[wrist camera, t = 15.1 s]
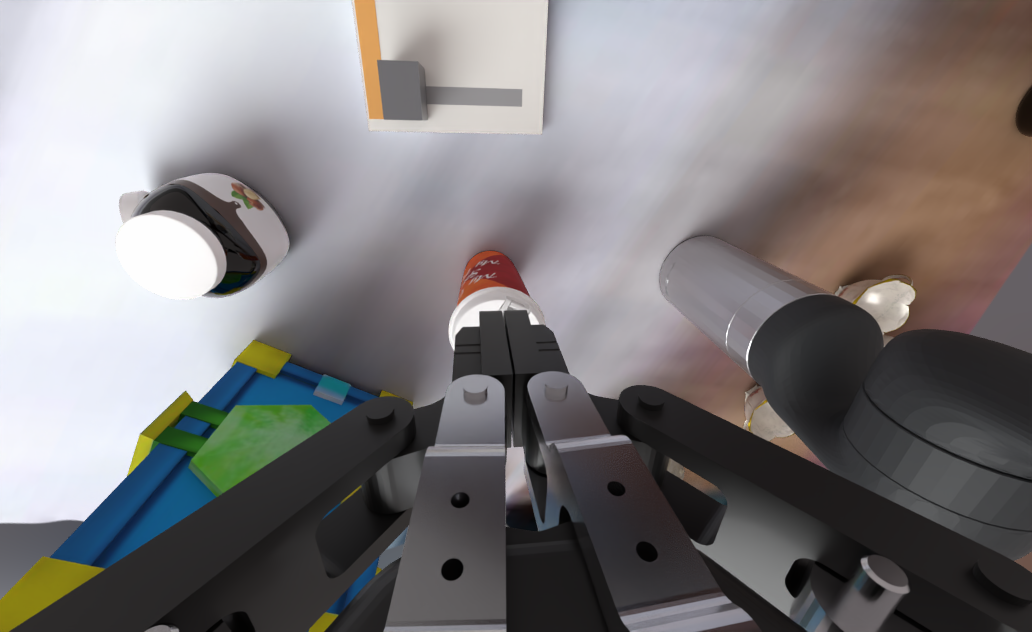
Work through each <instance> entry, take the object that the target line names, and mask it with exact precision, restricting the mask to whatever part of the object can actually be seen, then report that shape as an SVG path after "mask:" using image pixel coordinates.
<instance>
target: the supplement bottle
mask: <svg viewBox="0 0 1032 632" xmlns="http://www.w3.org/2000/svg"><path fill="white" fill-rule="evenodd" d="M1016 125H1017V128H1018V130H1019V131H1020V132H1021V133H1022V134H1023V135H1025V136H1029V137H1032V88H1031V89H1030V90H1029V91H1028V93H1027V94H1026V95H1025V97H1024V98H1023V100H1022V102H1021V104H1020V106H1019V108H1018V111H1017V115H1016Z"/></svg>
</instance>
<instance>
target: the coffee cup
mask: <svg viewBox="0 0 1032 632" xmlns="http://www.w3.org/2000/svg"><path fill="white" fill-rule="evenodd" d="M504 310H527V313H528V316H529V319H530V323H531V325H540V324H544V325H545V320H544V316H543V314H542V311H541V309H540V308H539V306H538V305H537V304H536V302H535V301H534V300H533V299H532V298H530V296H529V294H528V291H527V289H526V287H525V285H524V283H523V281H522V279H521V277H520V275H519V273H518V271H517V269H516V268H515V266H514V264H513V263H512V261H511V260H510V259H509V258H508V257H507V256H505V255H504V254H502V253H500V252H497V251H484V252H481V253H478V254H477V255H475V256H474V257H473V258H472V259H471V260H470V261H469V262H468V264H467V266H466V268H465V271H464V275H463V279H462V283H461V288H460V293H459V298H458V303H457V307H456V309H455V310H454V312H453V314H452V316H451V319H450V323H449V332H448V334H449V340H450V343H451V346H452V348H453V350H454V348H455V335H456V334H457V333H458V332H459V331H460V329H461V328H462V327H476V326H479V311H502V313H503V311H504Z"/></svg>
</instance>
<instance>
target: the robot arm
mask: <svg viewBox="0 0 1032 632" xmlns="http://www.w3.org/2000/svg"><path fill="white" fill-rule="evenodd" d="M659 283H660V289H661V291H662V294H663V295H664V297H665V298H666V299H667V300H668V301H669V302H670V303H671V304H672V305H673V306H674V307H675V308H677V309H678V310H679V311H680V312H681V313H682V314H683V315H684V316H685V317H686V318H687V319H688V320H689V321H691V322H692V323H693V324H694V325H695V326H696V327H697V328H698V329H699V330H700V331H701V332H702V333H704V334H705V335H706V336H707V337H708V338H709V339H710V340H711V341H712V342H713V343H714V344H716V345H717V346H718V347H719V348H720V349H721V350H722V351H723V352H724V353H725V354H726V355H727V356H729V357H730V358H731V359H732V360H733V361H734V362H735V363H736V364H737V365H739V366H740V367H741V368H742V369H743V370H744V371H745V372H746V373H747V374H748V375H749V376H751V377H752V378H753V379H754V380H755V381H756V382H757V383H758V384H759V385H760V386H761V387H762V389H763V392H764V395H765V397H766V399H767V401H768V403H769V405H770V406H771V408H772V409H773V410H774V411H775V412H776V414H777V415H778V416H779V417H780V418H781V419H782V420H783V421H784V422H785V423H786V424H787V425H788V426H789V427H790V429H791V430H792V431H793V432H794V433H795V434H796V435H797V436H798V437H799V438H800V439H801V440H802V441H803V442H804V444H805V445H806V446H807V447H808V448H809V449H810V450H811V451H812V452H813V453H814V454H815V456H816V457H817V458H818V459H819V460H820V461H821V462H822V463H823V464H824V465H825V466H826V467H827V468H828V470H827V469H825V468H823V467H821V466H819V465H816V464H814V463H812V462H810V461H808V460H806V459H804V458H802V457H800V456H798V455H796V454H794V453H792V452H790V451H788V450H786V449H784V448H781V447H779V446H777V445H775V444H773V443H771V442H769V441H767V440H765V439H763V438H761V437H759V436H757V435H755V434H753V433H751V432H749V431H746V430H744V429H742V428H740V427H738V426H736V425H734V424H732V423H730V422H728V421H726V420H724V419H722V418H720V417H718V416H716V415H713V414H711V413H709V412H707V411H705V410H703V409H701V408H699V407H697V406H695V405H693V404H691V403H689V402H687V401H685V400H683V399H681V398H678V397H676V396H674V395H672V394H670V393H668V392H666V391H664V390H662V389H659V388H656V387H652V386H646V385H636V386H631V387H628V388H626V389H624V390H623V391H622V392H621V394H620V397H619V400H615V399H609V398H603V397H598V396H594V395H591V394H589V393H587V391H586V389H585V388H584V386H583V384H582V383H581V382H580V381H579V380H578V379H577V378H576V377H574V376H572V375H570V374H569V372H568V369H567V366H566V364H565V361H564V359H563V356H562V354H561V351H560V349H559V346H558V343H557V341H556V338H555V336H554V333H553V332H552V331H551V330H550V329H549V328H547V327H546V326H545V325H544V324H540V325H531V323H530V319H529V316H528V313H527V310H504V311H503V313H502V311H479V326H476V327H462V328H461V329H460V331H459V332H458V333H457V334H456V335H455V348H454V363H453V377H452V383H451V384H450V385H449V386H448V388H447V390H446V394H445V397H444V398H442V399H441V400H439V401H438V402H436V403H433V404H431V405H428V406H425V407H421V408H417V409H413V407H412V405H411V404H410V403H409V402H408V401H407V400H405V399H403V398H400V397H394V396H384V397H378V398H374V399H371V400H368V401H366V402H364V403H362V404H360V405H359V406H357V407H356V408H354V409H352V410H351V411H349V412H348V413H346V414H345V415H343V416H342V417H340V418H339V419H337V420H335V421H334V422H332V423H331V424H329V425H328V426H326V427H325V428H323V429H321V430H320V431H318V432H317V433H315V434H314V435H312V436H311V437H309V438H308V439H306V440H304V441H303V442H301V443H300V444H298V445H297V446H295V447H294V448H292V449H291V450H289V451H287V452H286V453H284V454H283V455H281V456H280V457H278V458H277V459H275V460H273V461H272V462H270V463H269V464H267V465H266V466H264V467H263V468H261V469H260V470H258V471H256V472H255V473H253V474H252V475H250V476H249V477H247V478H246V479H244V480H243V481H241V482H239V483H238V484H236V485H235V486H233V487H232V488H230V489H229V490H227V491H226V492H224V493H222V494H221V495H219V496H218V497H216V498H215V499H213V500H212V501H210V502H208V503H207V504H205V505H204V506H202V507H201V508H199V509H198V510H196V511H195V512H193V513H191V514H190V515H188V516H187V517H185V518H184V519H182V520H181V521H179V522H178V523H176V524H174V525H173V526H171V527H170V528H168V529H167V530H165V531H164V532H162V533H160V534H159V535H157V536H156V537H154V538H153V539H151V540H150V541H148V542H147V543H145V544H143V545H142V546H140V547H139V548H137V549H136V550H134V551H133V552H131V553H130V554H128V555H126V556H125V557H123V558H122V559H120V560H119V561H117V562H116V563H114V564H113V565H111V566H109V567H108V568H106V569H105V570H103V571H102V572H100V573H99V574H97V575H95V576H94V577H92V578H91V579H89V580H88V581H86V582H85V583H83V584H82V585H80V586H78V587H77V588H75V589H74V590H72V591H71V592H69V593H68V594H66V595H65V596H63V597H61V598H60V599H58V600H57V601H55V602H54V603H52V604H51V605H49V606H48V607H46V608H44V609H43V610H41V611H40V612H38V613H37V614H35V615H34V616H32V617H30V618H29V619H27V620H26V621H24V622H23V623H21V624H20V625H18V626H17V627H15V628H13V629H12V630H10V631H9V632H307V631H308V630H309V629H310V628H311V627H312V626H313V625H314V624H315V623H316V621H317V620H318V619H319V618H320V617H321V616H322V615H323V614H324V613H325V612H326V611H327V610H328V609H329V608H330V607H331V606H332V605H333V604H334V603H335V602H336V601H337V600H338V599H339V597H340V596H341V595H342V594H343V593H344V592H345V591H346V590H347V589H348V588H349V587H350V586H351V585H352V584H353V583H354V582H355V581H356V580H357V579H358V578H359V577H360V576H361V575H362V573H363V572H364V571H365V570H366V569H367V568H368V567H369V566H370V565H371V564H372V563H373V562H374V561H375V560H376V559H377V558H378V557H379V556H380V555H381V554H382V553H383V552H384V551H385V549H386V548H387V547H388V546H389V545H390V544H391V543H392V542H393V541H394V540H395V539H396V538H397V537H398V536H399V535H400V534H401V533H402V532H403V531H404V530H405V529H406V528H407V527H408V525H409V527H408V531H407V535H406V539H405V544H404V548H403V552H402V557H401V558H399V559H397V560H396V561H394V562H392V563H391V564H390V565H388V566H387V567H385V568H384V569H383V570H382V571H380V572H379V573H378V574H377V575H376V576H375V577H373V578H372V579H371V580H370V581H369V582H368V583H367V584H366V585H365V586H364V587H363V588H362V589H361V590H360V591H359V593H358V594H357V595H356V596H355V597H354V598H353V599H352V601H351V602H350V603H349V604H348V605H347V606H346V607H345V608H344V610H343V611H342V612H341V613H340V614H339V615H338V616H337V618H336V619H335V620H334V621H333V622H332V623H331V624H330V625H329V627H328V628H327V629H326V630H325V631H324V632H1032V573H1031V572H1030V571H1028V570H1027V569H1025V568H1024V567H1022V566H1021V565H1019V564H1017V563H1016V562H1014V560H1017V559H1019V558H1022V557H1023V556H1025V555H1027V554H1028V553H1030V552H1031V551H1032V354H1031V353H1028V352H1025V351H1022V350H1019V349H1017V348H1014V347H1011V346H1008V345H1005V344H1001V343H998V342H995V341H991V340H988V339H984V338H980V337H976V336H973V335H969V334H964V333H959V332H953V331H945V330H936V329H921V330H912V331H908V332H904V333H902V334H900V335H898V336H896V337H895V338H893V339H891V340H890V341H889V342H888V343H887V344H886V346H885V347H884V340H883V335H882V331H881V328H880V326H879V324H878V323H877V321H876V320H875V319H874V317H873V316H872V315H871V314H869V313H868V312H867V311H866V310H864V309H862V308H861V307H859V306H857V305H855V304H853V303H851V302H849V301H847V300H845V299H843V298H841V297H839V296H836V295H834V294H832V293H830V292H828V291H826V290H824V289H822V288H820V287H818V286H816V285H814V284H811V283H809V282H807V281H805V280H803V279H801V278H799V277H797V276H795V275H793V274H791V273H788V272H786V271H784V270H782V269H780V268H778V267H776V266H774V265H772V264H770V263H768V262H766V261H764V260H762V259H760V258H757V257H755V256H753V255H751V254H749V253H747V252H745V251H743V250H741V249H739V248H737V247H735V246H733V245H731V244H729V243H727V242H725V241H722V240H720V239H718V238H716V237H712V236H698V237H693V238H691V239H689V240H686V241H684V242H683V243H681V244H680V245H678V246H677V247H676V248H675V249H674V250H673V251H672V252H671V253H670V254H669V255H668V257H667V258H666V260H665V262H664V263H663V265H662V268H661V272H660V278H659ZM511 431H512V438H513V446H514V447H523V448H524V454H525V456H524V474H525V478H526V482H527V486H528V490H529V494H530V498H531V502H532V506H533V510H534V514H535V518H536V522H537V526H538V530H539V531H528V530H521V529H515V528H509V527H506V493H505V465H506V455H507V448H510V447H511ZM669 459H672V460H674V461H675V462H677V463H679V464H680V465H682V466H684V467H685V468H687V469H689V470H691V471H692V472H694V473H696V474H697V475H699V476H701V477H702V478H704V479H706V480H707V481H709V482H711V483H712V484H714V485H715V486H717V487H718V488H719V489H720V490H721V491H722V493H723V494H724V495H725V497H726V500H727V506H726V505H723V504H721V503H719V502H717V501H716V500H714V499H712V498H711V497H709V496H708V495H706V494H704V493H703V492H701V491H699V490H698V489H696V488H695V487H693V486H691V485H690V484H688V483H687V482H685V481H683V480H682V479H680V478H678V477H677V476H675V475H674V474H672V473H670V472H669V471H667V467H668V463H669ZM359 486H361V488H359V489H358V490H357V491H356V492H355V493H353V494H352V495H351V496H350V497H349V498H347V499H346V500H345V501H344V502H343V503H342V504H340V505H339V506H338V507H337V508H336V509H334V510H333V511H332V512H331V513H330V514H328V515H327V516H326V517H325V515H326V514H327V513H328V512H329V511H331V510H332V509H333V508H334V507H335V506H337V505H338V504H339V503H340V502H341V501H343V500H344V499H345V498H346V497H347V496H349V495H350V494H351V493H352V492H353V491H355V490H356V489H357V488H358V487H359ZM324 517H325V518H324ZM323 518H324V519H323Z"/></svg>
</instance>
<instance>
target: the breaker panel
mask: <svg viewBox="0 0 1032 632" xmlns="http://www.w3.org/2000/svg"><path fill="white" fill-rule="evenodd" d="M352 6H353V14H354V21H355V29H356V36H357V44H358V52H359V59H360V67H361V75H362V82H363V90H364V98H365V105H366V113H367V121H368V128H369V131H389V132H439V133H490V134H541V135H542V126H543V104H544V82H545V60H546V38H547V16H548V0H352ZM377 60H396V61H418V62H419V63H420V64H421V65H422V66H423V67H424V69H425V81H426V96H427V110H428V120H423V121H421V120H384V118H383V109H382V100H381V92H380V83H379V74H378V66H377Z"/></svg>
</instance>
